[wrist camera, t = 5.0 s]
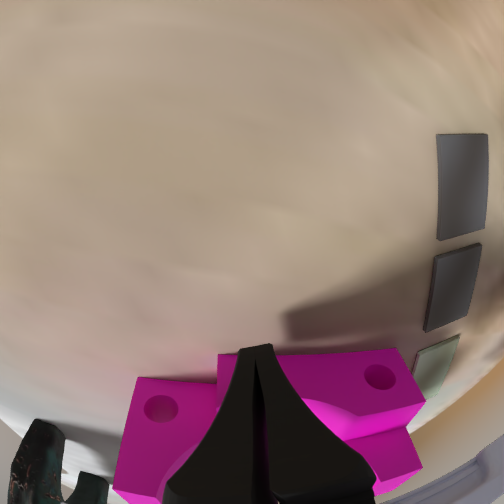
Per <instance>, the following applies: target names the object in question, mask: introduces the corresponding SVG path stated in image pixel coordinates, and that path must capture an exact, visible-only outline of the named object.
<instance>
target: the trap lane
mask: <svg viewBox="0 0 504 504" xmlns="http://www.w3.org/2000/svg"><path fill="white" fill-rule="evenodd" d="M436 139H437V154H438V223H437V238H436V239H438V240H439V241H443V240H446V239H450V238H453V237H457V236H460V235H464V234H467V233H471V232H474V231H477V230H481V229H484V228H485V220H486V210H487V196H488V170H489V156H488V135H487V134H440V135H436ZM481 250H482V245H481V244H480V243H477V244H474V245H471V246H468V247H465V248H461V249H458V250H455V251H452V252H449V253H445V254H442V255H439V256H436V257H435V260H434V268H433V276H432V283H431V290H430V296H429V302H428V308H427V313H426V318H425V323H424V328H423V330H424V332H425V333H426V332H429V331H431V330H434V329H436V328H439V327H441V326H444V325H446V324H448V323H451V322H453V321H455V320H458V319H460V318H462V317H464V316H466V315H467V313H468V309H469V306H470V302H471V298H472V294H473V290H474V285H475V281H476V276H477V272H478V267H479V261H480V256H481ZM459 339H460V337H459V336H458V335H456V336H454V337H452V338H450V339H448V340H445V341H443V342H441V343H438V344H436V345H434V346H431V347H429V348H427V349H424V350H422V351H419V352H418V353H417V357H416V361H415V364H414V368H413V371H412V376H413V378H414V380H415V381H416V383H417V385H418V387H419V389H420V390H421V392H422V394H423V396H424V398H425V400H427V399H429V398H431V397H433V396H436V395H437V394H438V392H439V390H440V387H441V385H442V383H443V381H444V378H445V376H446V373H447V371H448V369H449V366H450V363H451V361H452V358H453V356H454V353H455V350H456V347H457V344H458V342H459Z"/></svg>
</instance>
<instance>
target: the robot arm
mask: <svg viewBox="0 0 504 504" xmlns="http://www.w3.org/2000/svg"><path fill="white" fill-rule="evenodd" d="M376 480H377V477H376V475H375V473H374V471H373V469H372V468H371V466H370V465H369V464H368V462H367V461H366V460H365V459H364V457H363V456H362V455H361V454H360V453H358V452H357V451H355V450H354V449H353V448H351V447H350V446H349V445H347V444H346V443H345V442H344V441H342V440H341V439H340V438H339V437H338V436H336V435H335V434H334V433H333V432H332V431H331V430H330V429H329V428H328V427H327V426H326V425H325V424H324V423H323V422H321V421H320V420H319V418H318V417H317V416H316V415H315V414H314V413H313V412H312V411H311V410H310V408H309V407H308V406H307V405H306V404H305V403H304V401H303V400H302V399H301V397H300V396H299V395H298V393H297V392H296V391H295V389H294V388H293V386H292V385H291V383H290V382H289V380H288V378H287V377H286V375H285V373H284V372H283V370H282V368H281V366H280V364H279V362H278V360H277V358H276V355H275V353H274V349H273V345H272V344H270V343H268V344H263V345H258V346H253V347H247V348H242V349H240V350H239V351H238V356H237V361H236V365H235V368H234V372H233V375H232V378H231V381H230V384H229V387H228V390H227V392H226V395H225V397H224V399H223V402H222V404H221V406H220V408H219V411H218V413H217V415H216V417H215V418H214V420H213V422H212V424H211V426H210V427H209V429H208V431H207V432H206V434H205V436H204V437H203V439H202V440H201V442H200V443H199V445H198V446H197V447H196V449H195V450H194V451H193V453H192V454H191V455H190V456H189V458H188V459H187V460H186V461H185V463H184V464H183V465H182V466H181V467H180V468H179V469H178V470H177V471H176V472H175V473H174V474H173V475H172V477H171V478H170V479H169V480H168V481H167V482H166V485H165V488H164V493H163V499H162V504H278V502H279V503H280V504H375V500H374V496H375V494H374V491H373V488H372V487H373V485H374V484H375V482H376ZM502 494H504V434H503V435H502V436H501V437H499V438H498V439H496V440H495V441H494V442H492V443H491V444H489V445H488V446H487V447H485V448H484V449H483V450H482V451H480V452H479V453H478V454H477V455H476V457H475V458H473V459H471V460H470V461H468V462H467V463H465V464H463V465H462V466H460V467H458V468H457V469H455V470H453V471H451V472H450V473H447V474H446V475H444V476H442V477H440V478H438V479H436V480H434V481H432V482H430V483H428V484H426V485H424V486H422V487H420V488H417V489H415V490H413V491H411V492H408V493H406V494H404V495H401V496H399V497H396V498H394V499H392V500H389V501H386V502H383V503H380V504H490V503H492V502H493V501H494V500H496V499H497V498H498V497H500V496H501V495H502ZM61 504H66V503H63V502H61Z"/></svg>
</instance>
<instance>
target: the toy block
mask: <svg viewBox="0 0 504 504" xmlns="http://www.w3.org/2000/svg"><path fill="white" fill-rule="evenodd" d="M237 356H238V355H221V354H218V364H217V384H209V383H192V382H179V381H169V380H159V379H150V378H142V377H138V378H137V381H136V385H135V389H134V393H133V396H132V400H131V404H130V408H129V412H128V416H127V420H126V424H125V429H124V433H123V437H122V442H121V447H120V451H119V456H118V461H117V466H116V471H115V476H114V482H113V487H112V489H113V490H114V491H115V492H116V493H118V494H119V495H120V496H121V497H122V498H123V499H125V500H126V501H127V502H128V503H129V504H162V499H163V493H164V488H165V485H166V482H167V481H168V480H169V479H170V478H171V477H172V475H173V474H174V473H175V472H176V471H177V470H178V469H179V468H180V467H181V466H182V465H183V464H184V463H185V461H186V460H187V459H188V458H189V456H190V455H191V454H192V453H193V451H194V450H195V449H196V447H197V446H198V445H199V443H200V442H201V440H202V439H203V437H204V436H205V434H206V432H207V431H208V429H209V427H210V426H211V424H212V422H213V420H214V418H215V417H216V415H217V413H218V411H219V408H220V406H221V404H222V402H223V399H224V397H225V395H226V392H227V390H228V387H229V384H230V381H231V378H232V375H233V372H234V368H235V365H236V361H237ZM276 358H277V360H278V362H279V364H280V366H281V368H282V370H283V372H284V373H285V375H286V377H287V378H288V380H289V382H290V383H291V385H292V386H293V388H294V389H295V391H296V392H297V393H298V395H299V396H300V397H301V399H302V400H303V401H304V403H305V404H306V405H307V406H308V407H309V408H310V410H311V411H312V412H313V413H314V414H315V415H316V416H317V417H318V418H319V420H320V421H321V422H323V423H324V424H325V425H326V426H327V427H328V428H329V429H330V430H331V431H332V432H333V433H334V434H335V435H336V436H338V437H339V438H340V439H341V440H342V441H344V442H345V443H346V444H347V445H349V446H350V447H351V448H353V449H354V450H355V451H357V452H358V453H360V454H361V455H362V456H363V457H364V459H365V460H366V461H367V462H368V464H369V465H370V466H371V468H372V469H373V471H374V473H375V475H376V477H377V480H376V482H375V484H374V485H373V487H372V488H373V491H374V494H375V496H377V495H380V494H383V493H386V492H389V491H392V490H394V489H395V488H396V487H398V486H399V485H400V484H402V483H403V482H405V481H406V480H408V479H409V478H410V477H411V476H413V475H414V474H416V473H417V472H418V471H419V470H421V469H422V468H423V467H422V464H421V462H420V459H419V457H418V455H417V452H416V450H415V447H414V445H413V443H412V440H411V438H410V436H409V433H408V431H407V429H406V426H407V425H408V424H409V422H410V421H411V420H412V419H413V418H414V416H415V415H416V414H417V413H418V411H419V410H420V409H421V408H422V406H423V405H424V404H425V402H426V400H425V398H424V396H423V394H422V392H421V390H420V389H419V387H418V385H417V383H416V381H415V380H414V378H413V376H412V374H411V373H410V371H409V369H408V367H407V366H406V364H405V362H404V360H403V359H402V357H401V355H400V354H399V352H398V350H397V349H396V348H390V349H381V350H371V351H360V352H348V353H333V354H313V355H276Z"/></svg>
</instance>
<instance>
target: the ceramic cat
mask: <svg viewBox="0 0 504 504" xmlns="http://www.w3.org/2000/svg"><path fill="white" fill-rule="evenodd" d="M64 445H65V437H64V435H63V434H62V433H61V431H60V430H59V429H58V428H57V427H56V426H53V425H51V424H48V423H45V422H42V421H40V420H37V419H34V421H33V422H32V424H31V426H30V427H29V430H28V431H27V433H26V435H25V436H24V438H23V440H22V442H21V444H20V447H19V449H18V451H17V453H16V456H15V458H14V460H13V462H12V465H11V476H10V483H9V489H8V504H61V502H63V503H66V504H107V497H108V491H109V484H108V483H107V481H106V480H105V479H103V478H101V477H99V476H95V475H92V474H89V473H85V472H82V471H80V473H79V476H78V481H77V485H76V487H75V490H74V492H73V493H72V495H71V496H70V497H69V498H68V499H67V500H66V501H64V500H63V497H62V493H61V470H62V460H63V453H64Z"/></svg>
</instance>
